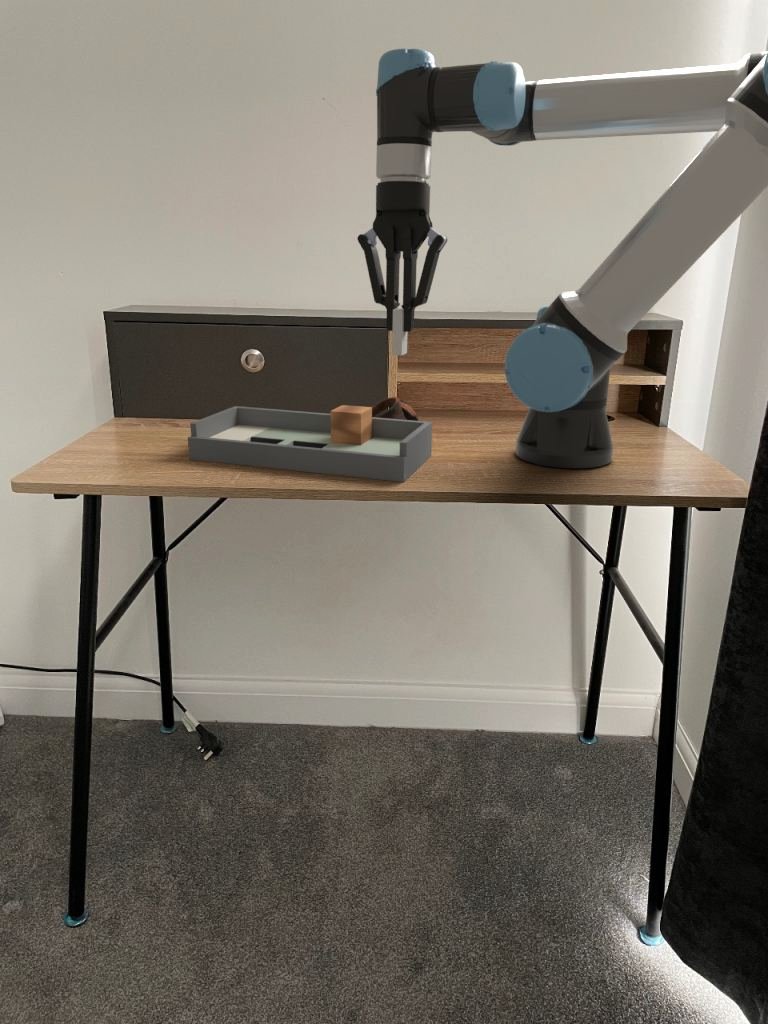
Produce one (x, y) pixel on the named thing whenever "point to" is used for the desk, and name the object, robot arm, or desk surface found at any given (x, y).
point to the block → (351, 425)
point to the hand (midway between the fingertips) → (399, 353)
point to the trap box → (309, 443)
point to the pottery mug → (394, 409)
